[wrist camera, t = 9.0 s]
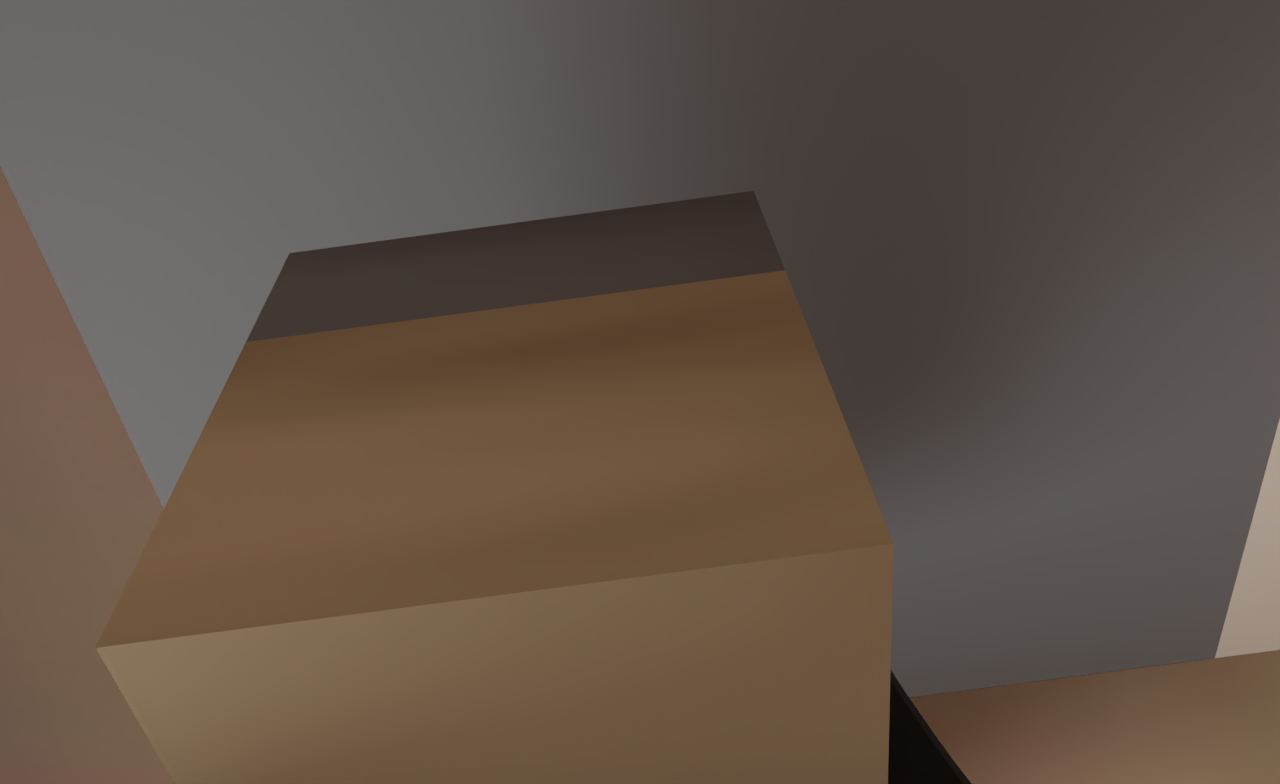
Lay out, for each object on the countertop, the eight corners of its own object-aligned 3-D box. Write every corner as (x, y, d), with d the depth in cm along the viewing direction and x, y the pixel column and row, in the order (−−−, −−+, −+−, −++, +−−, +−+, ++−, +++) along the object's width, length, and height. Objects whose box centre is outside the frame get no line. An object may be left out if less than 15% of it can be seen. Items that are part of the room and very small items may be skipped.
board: (1666, 539, 21) (1734, 591, 20) (306, 715, 22) (291, 777, 20) (2229, -462, 13) (2413, -480, 11) (-72, -143, 13) (-140, -127, 12)
